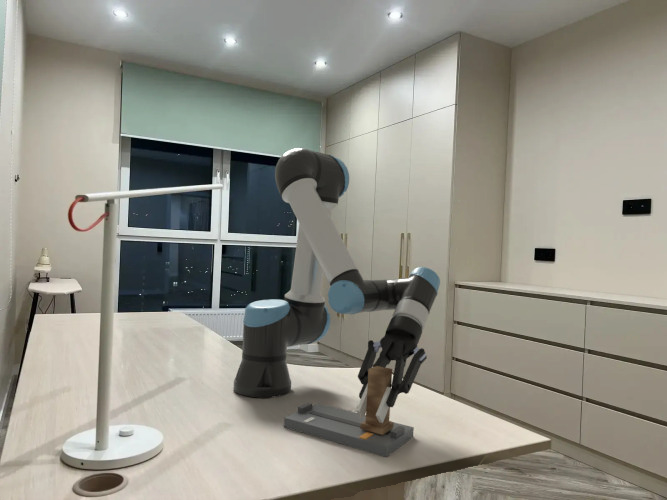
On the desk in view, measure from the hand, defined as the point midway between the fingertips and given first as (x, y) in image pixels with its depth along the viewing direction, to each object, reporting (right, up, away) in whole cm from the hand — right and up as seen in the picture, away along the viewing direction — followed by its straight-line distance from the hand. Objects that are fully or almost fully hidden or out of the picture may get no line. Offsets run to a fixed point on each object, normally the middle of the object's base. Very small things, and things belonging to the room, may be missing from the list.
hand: (369, 416), depth 100 cm
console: (-4, -5, +7) cm, 10 cm away
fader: (+2, -3, +3) cm, 5 cm away
